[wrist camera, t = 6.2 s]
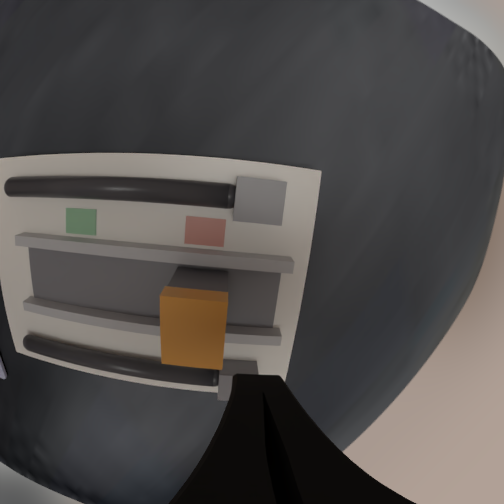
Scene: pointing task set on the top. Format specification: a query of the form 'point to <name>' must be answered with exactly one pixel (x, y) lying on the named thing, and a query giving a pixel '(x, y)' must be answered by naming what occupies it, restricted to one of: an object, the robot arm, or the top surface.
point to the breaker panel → (152, 258)
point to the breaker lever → (194, 318)
